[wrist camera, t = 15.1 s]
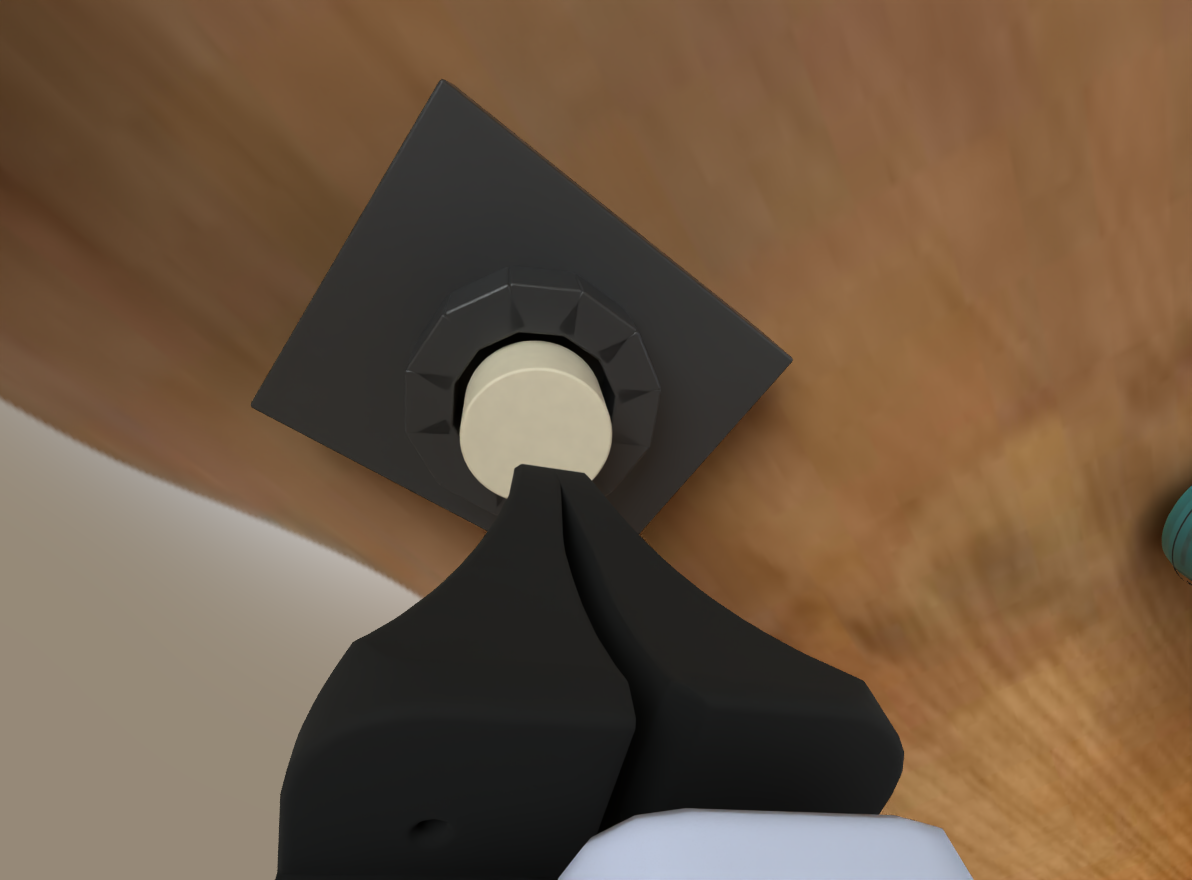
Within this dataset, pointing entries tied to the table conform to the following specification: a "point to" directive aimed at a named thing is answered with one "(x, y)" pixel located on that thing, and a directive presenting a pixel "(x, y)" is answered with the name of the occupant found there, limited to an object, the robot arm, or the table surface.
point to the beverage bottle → (1179, 535)
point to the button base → (508, 322)
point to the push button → (533, 414)
